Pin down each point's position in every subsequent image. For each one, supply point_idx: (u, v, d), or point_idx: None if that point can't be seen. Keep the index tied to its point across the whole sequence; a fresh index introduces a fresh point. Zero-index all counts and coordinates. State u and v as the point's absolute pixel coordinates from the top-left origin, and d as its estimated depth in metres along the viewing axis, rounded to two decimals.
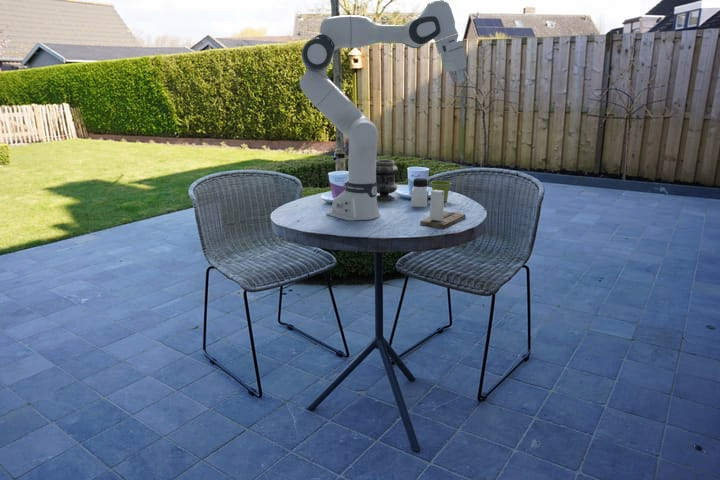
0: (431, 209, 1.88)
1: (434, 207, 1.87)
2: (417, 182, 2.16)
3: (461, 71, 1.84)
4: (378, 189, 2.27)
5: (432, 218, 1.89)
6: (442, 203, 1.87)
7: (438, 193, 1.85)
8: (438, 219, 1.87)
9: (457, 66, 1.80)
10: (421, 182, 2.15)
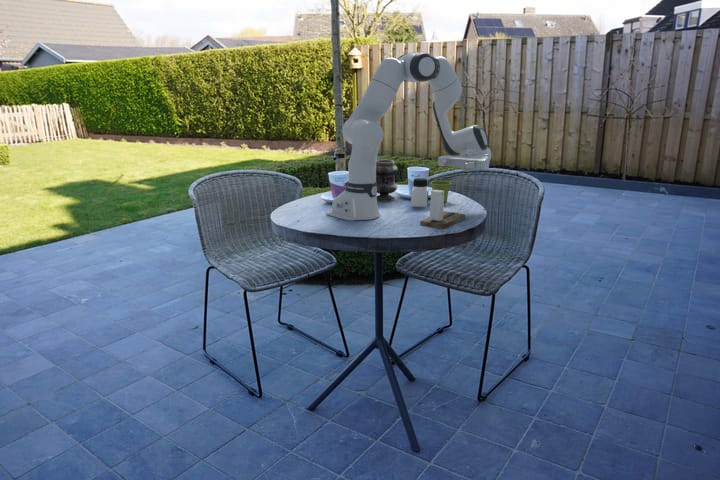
0: (431, 209, 1.88)
1: (434, 207, 1.87)
2: (417, 182, 2.16)
3: (474, 165, 1.94)
4: (378, 189, 2.27)
5: (432, 218, 1.89)
6: (442, 203, 1.87)
7: (438, 193, 1.85)
8: (438, 219, 1.87)
9: (485, 160, 1.94)
10: (421, 182, 2.15)
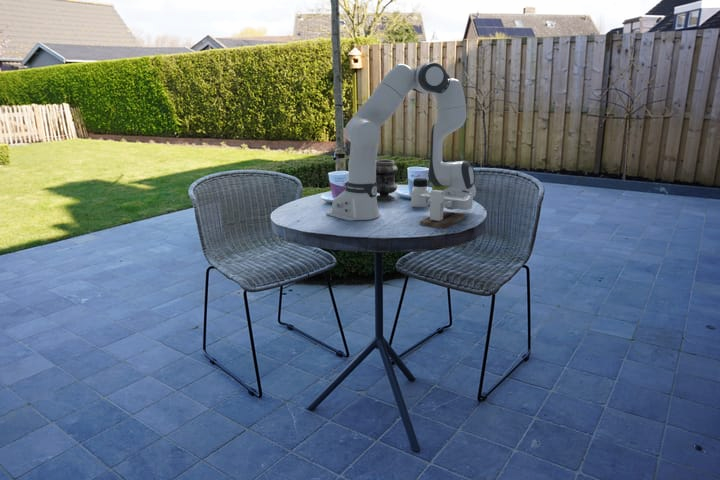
0: (431, 209, 1.88)
1: (434, 207, 1.87)
2: (417, 182, 2.16)
3: (451, 204, 1.88)
4: (378, 189, 2.27)
5: (432, 218, 1.89)
6: None
7: (438, 193, 1.85)
8: (438, 219, 1.87)
9: (467, 201, 1.86)
10: (421, 182, 2.15)
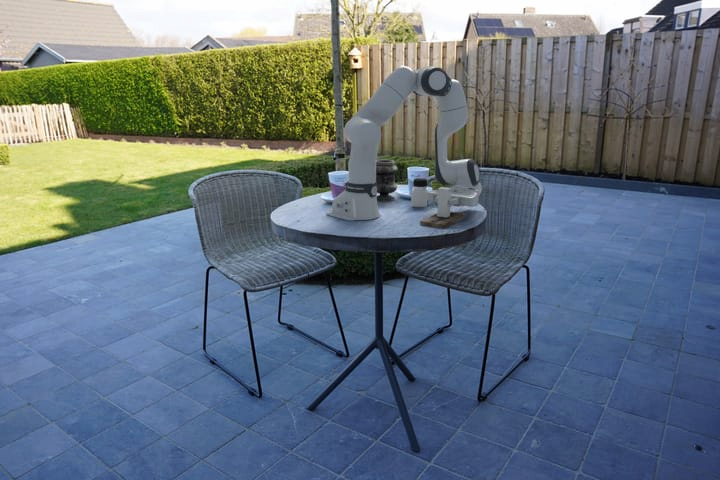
0: (438, 206, 1.93)
1: (441, 204, 1.92)
2: (417, 182, 2.16)
3: (458, 201, 1.92)
4: (378, 189, 2.27)
5: (439, 215, 1.93)
6: None
7: (445, 190, 1.89)
8: (445, 216, 1.92)
9: (474, 198, 1.91)
10: (421, 182, 2.15)
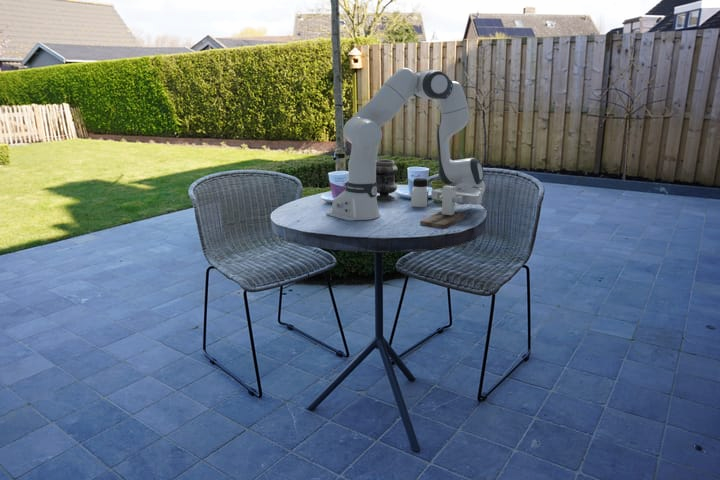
0: (443, 204, 1.96)
1: (446, 202, 1.95)
2: (417, 182, 2.16)
3: (462, 200, 1.95)
4: (378, 189, 2.27)
5: (444, 213, 1.97)
6: None
7: (450, 189, 1.92)
8: (450, 214, 1.95)
9: (478, 196, 1.94)
10: (421, 182, 2.15)
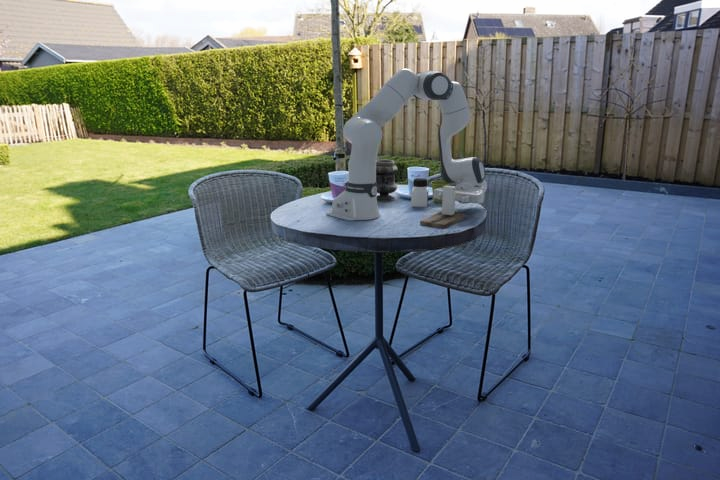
0: (443, 204, 1.96)
1: (446, 202, 1.95)
2: (417, 182, 2.16)
3: (469, 199, 1.95)
4: (378, 189, 2.27)
5: (444, 213, 1.97)
6: (454, 198, 1.95)
7: (450, 189, 1.92)
8: (450, 214, 1.95)
9: (480, 195, 1.95)
10: (421, 182, 2.15)
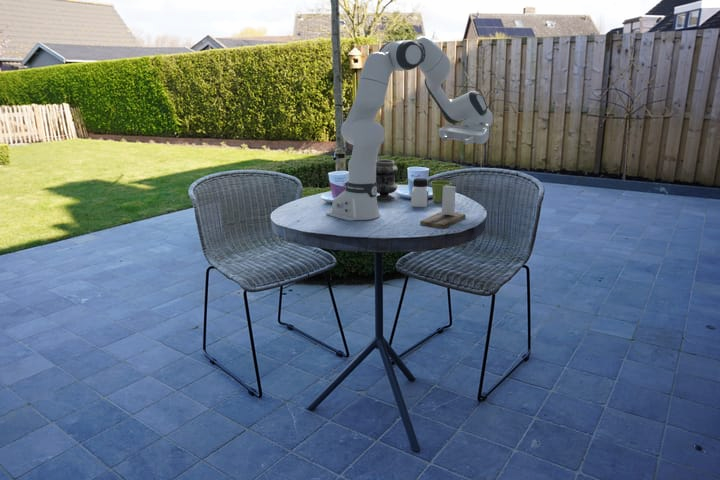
0: (443, 204, 1.96)
1: (446, 202, 1.95)
2: (417, 182, 2.16)
3: (473, 140, 1.98)
4: (378, 189, 2.27)
5: (444, 213, 1.97)
6: (454, 198, 1.95)
7: (450, 189, 1.92)
8: (450, 214, 1.95)
9: (484, 135, 1.97)
10: (421, 182, 2.15)
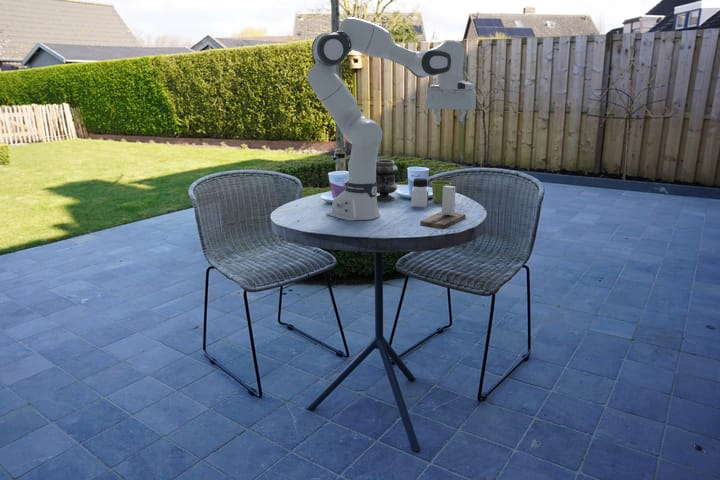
0: (443, 204, 1.96)
1: (446, 202, 1.95)
2: (417, 182, 2.16)
3: (465, 111, 1.94)
4: (378, 189, 2.27)
5: (444, 213, 1.97)
6: (454, 198, 1.95)
7: (450, 189, 1.92)
8: (450, 214, 1.95)
9: (472, 106, 1.90)
10: (421, 182, 2.15)
